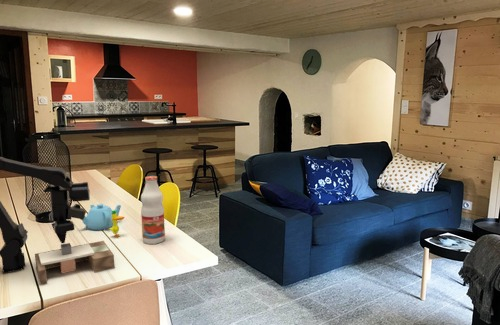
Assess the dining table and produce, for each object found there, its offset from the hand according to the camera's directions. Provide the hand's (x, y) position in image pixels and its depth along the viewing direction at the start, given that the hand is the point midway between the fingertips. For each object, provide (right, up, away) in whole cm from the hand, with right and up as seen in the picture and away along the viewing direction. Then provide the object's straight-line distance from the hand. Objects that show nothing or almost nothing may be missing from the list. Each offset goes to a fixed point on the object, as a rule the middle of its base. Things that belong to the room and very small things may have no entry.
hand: (62, 242), depth 145 cm
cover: (+4, -3, -5) cm, 7 cm away
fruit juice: (+28, -4, +23) cm, 37 cm away
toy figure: (+11, -3, +27) cm, 30 cm away
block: (+4, -9, -4) cm, 10 cm away
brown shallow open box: (+6, -8, -3) cm, 11 cm away
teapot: (-1, -1, +40) cm, 41 cm away
